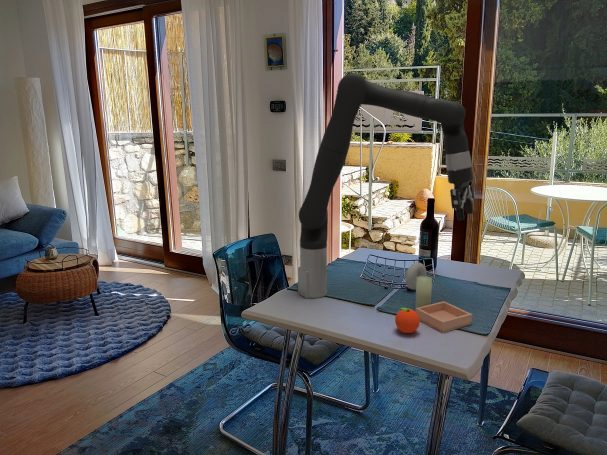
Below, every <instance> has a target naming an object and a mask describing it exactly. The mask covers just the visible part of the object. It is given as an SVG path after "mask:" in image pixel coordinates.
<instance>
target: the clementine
mask: <svg viewBox="0 0 607 455" xmlns="http://www.w3.org/2000/svg"><path fill="white" fill-rule="evenodd" d="M399 309H401V310H399ZM395 312H396V315H395V319H394V322H395V323H394V324H395V326H396V328H397V329H398V330H399V332H401V333H404V334H411V333H414V332H416V331H417V330H418V329H419V327H420V323H421V321H420V319H419V316H418V314H417V313H416V312H415V310H413V309H412V308H407V307H401V308H398V309H396V311H395Z"/></svg>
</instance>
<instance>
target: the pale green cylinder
mask: <svg viewBox="0 0 607 455" xmlns="http://www.w3.org/2000/svg"><path fill="white" fill-rule="evenodd" d="M432 289H433V278H432V277H431V276H427V275H426V276H419V277H417V283H416V290H415V305H414V306H415V307H416V308H418V307H423V306H427V305H431V304H432ZM415 307H414V308H415Z"/></svg>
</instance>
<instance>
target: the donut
mask: <svg viewBox="0 0 607 455" xmlns="http://www.w3.org/2000/svg"><path fill="white" fill-rule="evenodd" d="M427 275H428V274H427V269H426V266H425V265H424V264H423V263H421V262H414V263H413V264H411V265H410V266H408V268H407V271H406V273H405V277H404V278H405V279H404V280H405V285H406V286H407V287H408V289H410V290H411V291H416V283H417V277H419V276H427Z"/></svg>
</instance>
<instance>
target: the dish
mask: <svg viewBox="0 0 607 455" xmlns="http://www.w3.org/2000/svg"><path fill="white" fill-rule="evenodd" d="M414 308H415V307H414ZM414 311H415V312H416V313H417V314H418V316H419V319H420V323H423V324H425V325H427V326H429V327H430V328H432V329H434V330H436V331H437V332H440V333H441V334H444V333H446V332H447V333H448V332H451V331H454V330H457V329H461V328H465V327H468V326H471V325H472V322H473V314H472V313H470V312H468V311H466V310H463V309H462V308H460V307H457V306H455V305H453V304H450V303H449V302H446V301H444V300H443V301H440V302H436V303H431V305H427V306H423V307H418V308H415V310H414Z"/></svg>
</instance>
